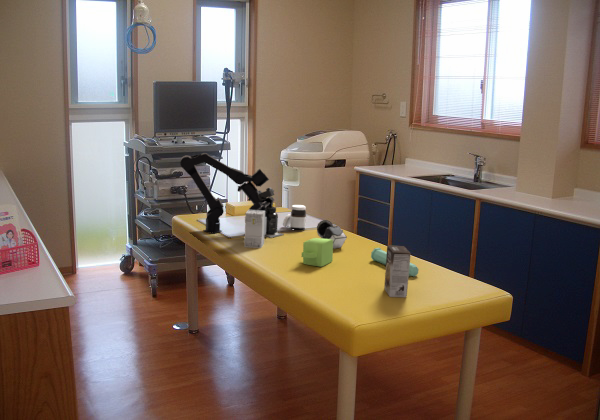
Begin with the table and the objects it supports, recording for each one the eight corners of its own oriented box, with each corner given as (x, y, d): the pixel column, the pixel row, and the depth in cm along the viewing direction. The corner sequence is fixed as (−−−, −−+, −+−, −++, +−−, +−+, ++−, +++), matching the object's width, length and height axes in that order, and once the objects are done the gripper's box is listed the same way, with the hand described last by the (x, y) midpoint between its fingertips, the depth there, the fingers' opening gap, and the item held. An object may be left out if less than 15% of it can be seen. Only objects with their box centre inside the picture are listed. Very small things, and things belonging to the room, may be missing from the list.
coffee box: (383, 288, 224) (386, 245, 221) (401, 288, 224) (404, 245, 221) (389, 297, 215) (392, 251, 212) (407, 297, 216) (411, 252, 212)
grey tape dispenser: (310, 237, 295) (312, 216, 293) (331, 237, 297) (332, 216, 295) (326, 251, 271) (327, 229, 269) (348, 251, 273) (349, 228, 271)
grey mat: (256, 234, 295) (256, 233, 295) (269, 231, 301) (269, 230, 301) (270, 238, 289) (270, 237, 289) (283, 235, 296) (283, 234, 296)
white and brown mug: (305, 231, 305) (306, 208, 302) (282, 230, 305) (283, 207, 302) (305, 226, 316) (306, 203, 314) (283, 225, 316) (284, 202, 314)
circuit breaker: (266, 240, 285) (267, 208, 282) (261, 248, 271) (262, 214, 268) (250, 239, 285) (251, 206, 282) (244, 246, 271) (245, 213, 269)
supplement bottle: (279, 231, 297) (280, 206, 295) (273, 234, 291) (275, 209, 288) (265, 229, 299) (266, 205, 297) (260, 232, 293) (261, 207, 291)
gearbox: (315, 256, 264) (315, 234, 262) (336, 259, 259) (337, 237, 258) (295, 265, 248) (296, 242, 246) (318, 268, 243) (318, 245, 242)
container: (419, 261, 239) (380, 245, 260) (407, 269, 237) (369, 251, 258) (422, 274, 241) (383, 257, 262) (411, 282, 239) (372, 263, 260)
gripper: (256, 185, 283) (278, 211, 282) (271, 180, 300) (291, 205, 299) (240, 200, 287) (261, 226, 286) (255, 194, 304) (275, 219, 303)
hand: (273, 218), depth 293 cm, fingers closed on supplement bottle, 7 cm apart
